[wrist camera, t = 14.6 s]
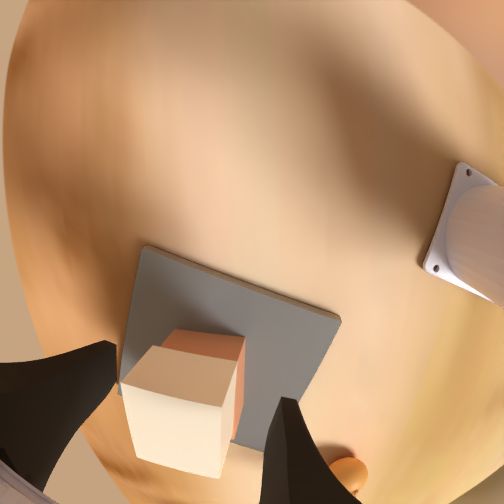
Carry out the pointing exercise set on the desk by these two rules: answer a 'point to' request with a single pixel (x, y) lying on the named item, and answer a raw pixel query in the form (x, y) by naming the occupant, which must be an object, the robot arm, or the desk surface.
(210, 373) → the cream brick
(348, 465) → the figurine
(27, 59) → the desk surface
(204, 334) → the terracotta brick
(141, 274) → the baseplate
